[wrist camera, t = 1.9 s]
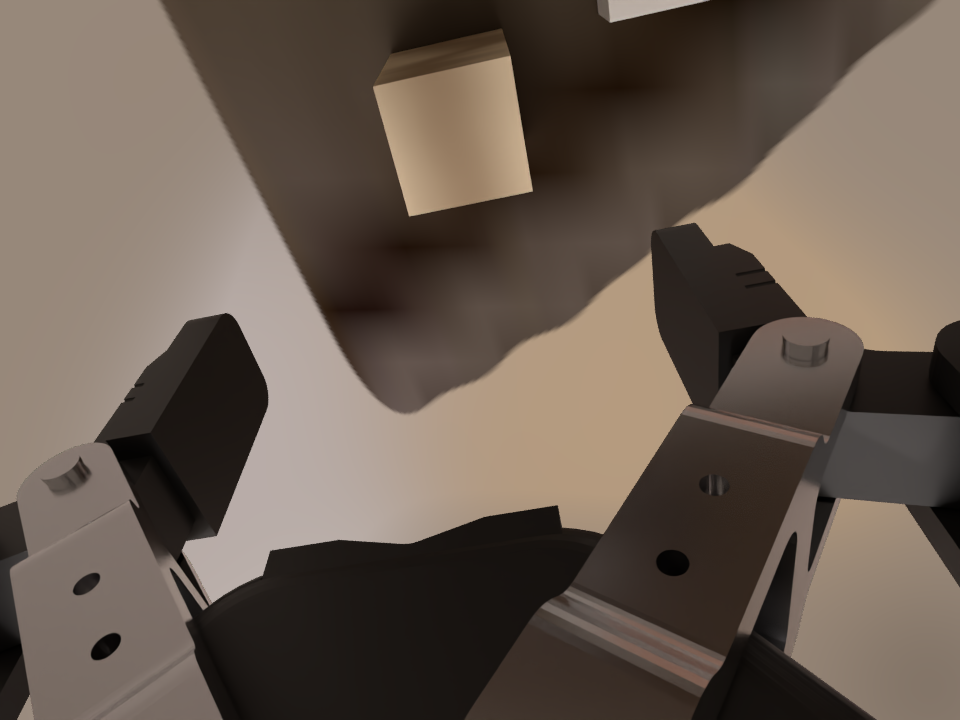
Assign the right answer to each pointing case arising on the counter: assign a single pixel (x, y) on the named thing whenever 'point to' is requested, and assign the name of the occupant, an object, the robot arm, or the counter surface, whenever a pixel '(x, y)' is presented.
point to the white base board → (637, 7)
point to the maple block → (454, 122)
